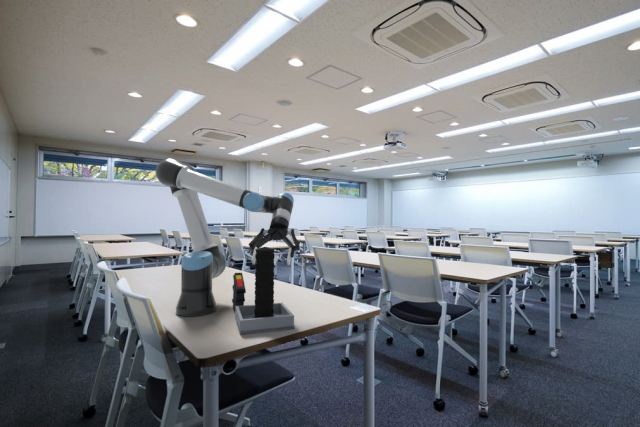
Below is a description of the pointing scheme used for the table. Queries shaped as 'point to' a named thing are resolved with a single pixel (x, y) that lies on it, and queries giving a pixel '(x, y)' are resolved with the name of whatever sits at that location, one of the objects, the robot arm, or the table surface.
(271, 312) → the handle grip
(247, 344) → the table surface
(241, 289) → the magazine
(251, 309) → the tray
